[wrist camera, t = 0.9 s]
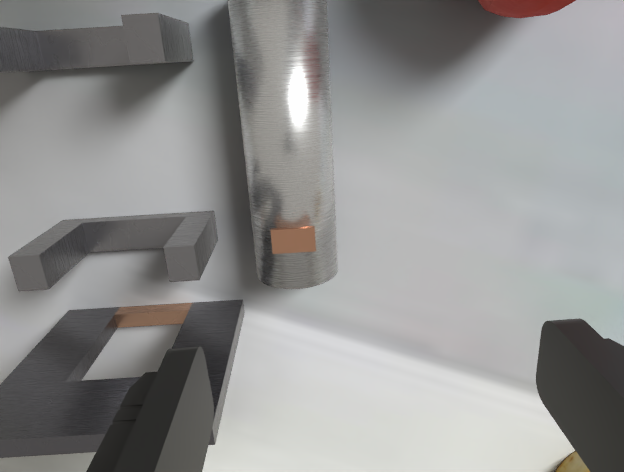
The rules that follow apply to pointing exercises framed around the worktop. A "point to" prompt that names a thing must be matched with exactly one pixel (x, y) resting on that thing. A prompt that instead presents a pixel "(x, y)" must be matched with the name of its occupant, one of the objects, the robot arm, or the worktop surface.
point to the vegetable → (523, 7)
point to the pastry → (572, 464)
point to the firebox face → (107, 392)
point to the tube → (287, 137)
